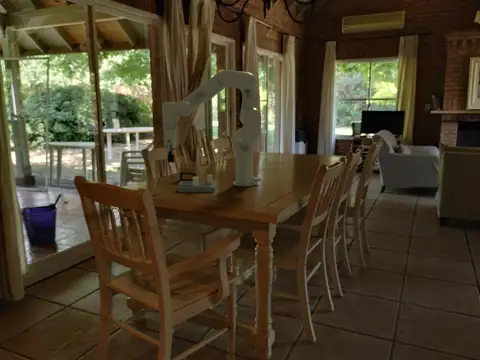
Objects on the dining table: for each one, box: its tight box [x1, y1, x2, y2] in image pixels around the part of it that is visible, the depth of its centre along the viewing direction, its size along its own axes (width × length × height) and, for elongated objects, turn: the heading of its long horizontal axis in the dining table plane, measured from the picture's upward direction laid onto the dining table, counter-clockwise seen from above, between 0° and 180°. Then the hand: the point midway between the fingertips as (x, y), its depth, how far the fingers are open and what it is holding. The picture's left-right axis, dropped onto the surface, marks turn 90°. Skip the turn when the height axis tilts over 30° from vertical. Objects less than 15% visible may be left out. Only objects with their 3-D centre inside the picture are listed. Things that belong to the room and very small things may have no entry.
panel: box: [177, 181, 218, 193], centre depth 212 cm, size 19×12×4 cm, turn 89°
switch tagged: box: [206, 174, 213, 184], centre depth 214 cm, size 2×3×5 cm
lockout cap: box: [166, 149, 177, 164], centre depth 211 cm, size 4×4×6 cm
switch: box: [193, 176, 199, 186], centre depth 208 cm, size 2×3×5 cm
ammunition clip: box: [179, 160, 198, 182], centre depth 235 cm, size 11×2×12 cm, turn 70°
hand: (172, 161), depth 212 cm, fingers closed on lockout cap, 4 cm apart
